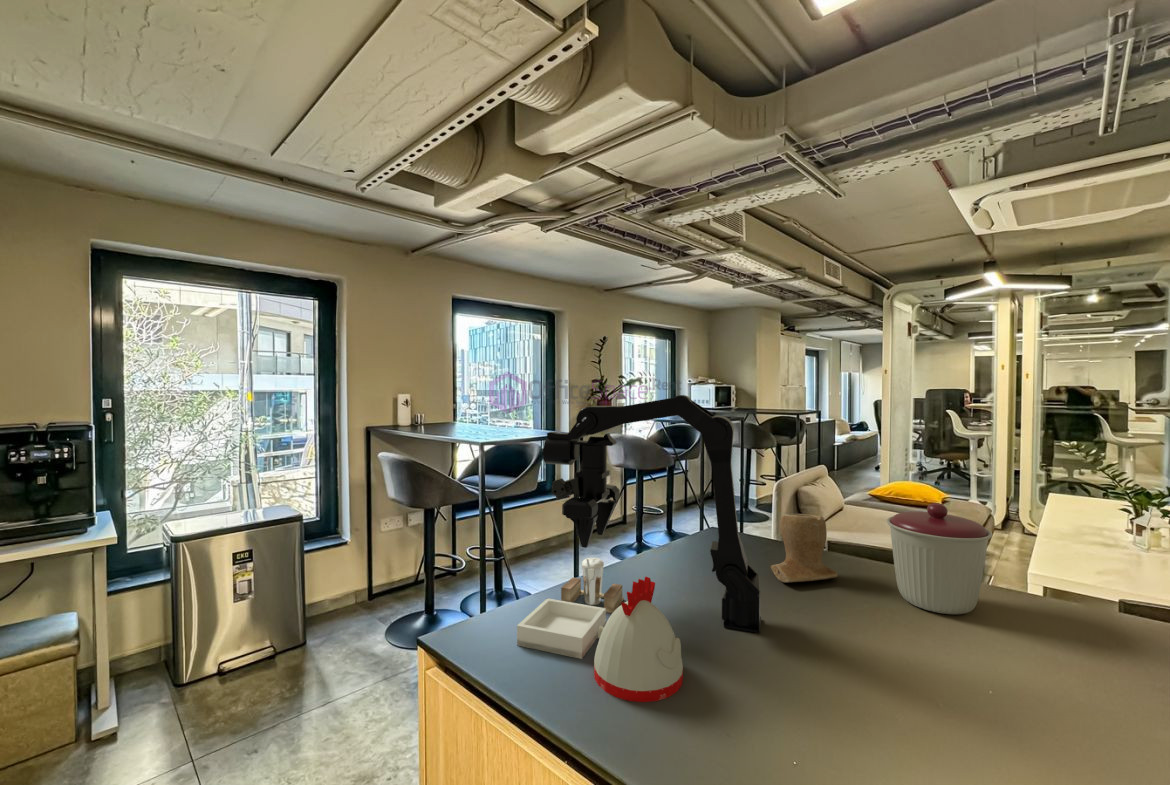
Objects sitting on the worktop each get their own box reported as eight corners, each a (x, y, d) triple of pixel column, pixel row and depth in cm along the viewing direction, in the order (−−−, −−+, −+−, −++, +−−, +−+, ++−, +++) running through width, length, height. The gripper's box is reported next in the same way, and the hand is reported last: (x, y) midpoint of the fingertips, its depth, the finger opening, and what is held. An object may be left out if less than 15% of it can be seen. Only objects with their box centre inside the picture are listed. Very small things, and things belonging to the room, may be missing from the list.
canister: (866, 592, 113) (867, 497, 113) (929, 583, 118) (930, 492, 118) (943, 629, 96) (945, 517, 95) (1014, 617, 101) (1016, 511, 100)
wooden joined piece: (623, 599, 109) (623, 583, 109) (613, 613, 102) (613, 595, 102) (574, 591, 113) (574, 575, 113) (561, 604, 106) (561, 587, 106)
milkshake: (576, 606, 105) (577, 557, 105) (586, 596, 110) (586, 550, 110) (597, 610, 104) (597, 560, 103) (606, 599, 109) (606, 552, 108)
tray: (605, 626, 96) (605, 608, 96) (581, 659, 85) (582, 638, 85) (547, 615, 101) (547, 598, 101) (517, 645, 90) (517, 625, 89)
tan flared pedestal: (810, 565, 130) (811, 506, 129) (845, 583, 118) (846, 518, 118) (757, 570, 126) (758, 510, 126) (788, 589, 114) (788, 522, 114)
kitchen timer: (698, 672, 81) (699, 579, 81) (651, 715, 71) (652, 607, 71) (627, 643, 90) (627, 559, 90) (576, 677, 80) (576, 582, 80)
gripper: (574, 458, 118) (574, 525, 119) (538, 470, 101) (537, 549, 101) (620, 460, 114) (620, 530, 114) (591, 474, 97) (590, 556, 97)
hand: (592, 540), depth 107 cm, fingers open, 9 cm apart
